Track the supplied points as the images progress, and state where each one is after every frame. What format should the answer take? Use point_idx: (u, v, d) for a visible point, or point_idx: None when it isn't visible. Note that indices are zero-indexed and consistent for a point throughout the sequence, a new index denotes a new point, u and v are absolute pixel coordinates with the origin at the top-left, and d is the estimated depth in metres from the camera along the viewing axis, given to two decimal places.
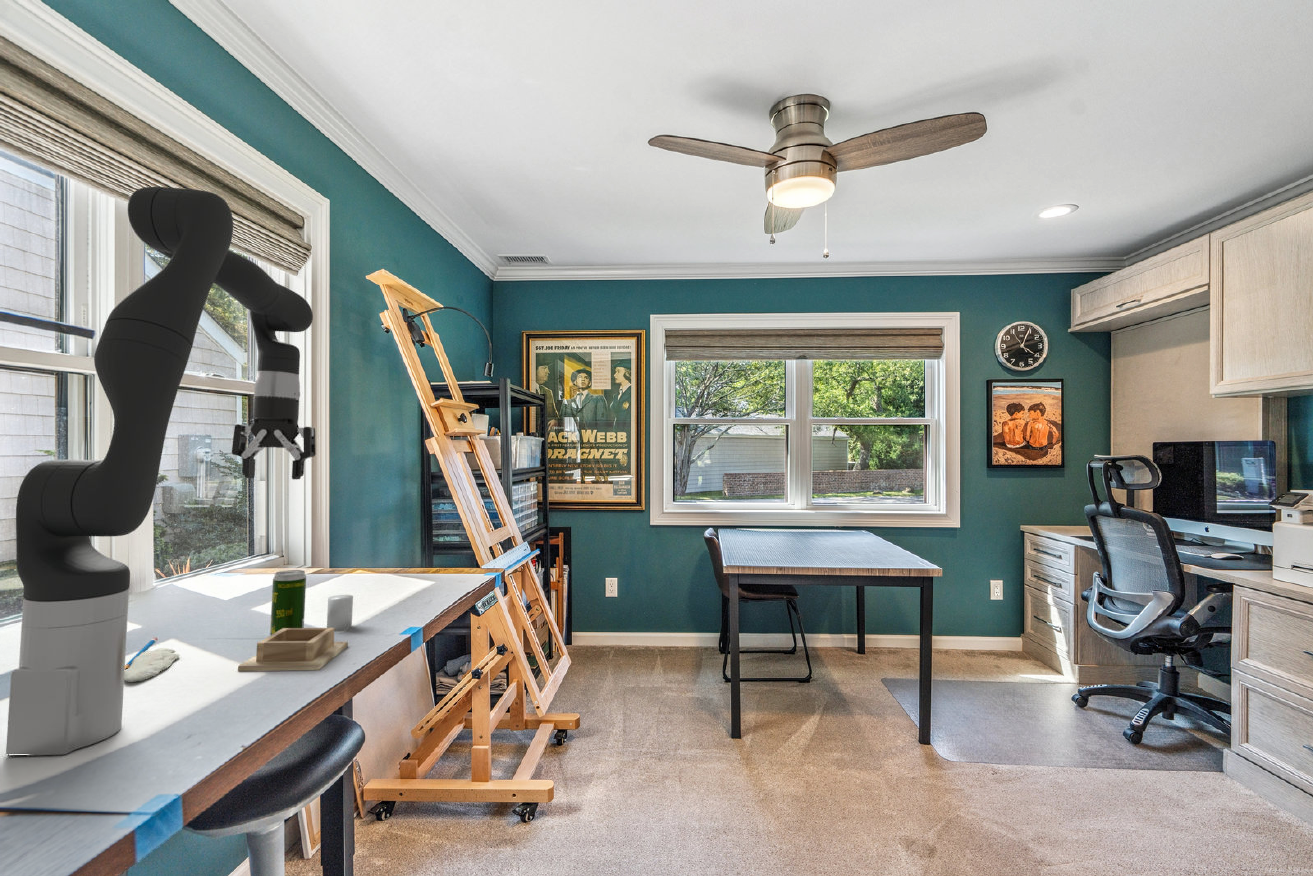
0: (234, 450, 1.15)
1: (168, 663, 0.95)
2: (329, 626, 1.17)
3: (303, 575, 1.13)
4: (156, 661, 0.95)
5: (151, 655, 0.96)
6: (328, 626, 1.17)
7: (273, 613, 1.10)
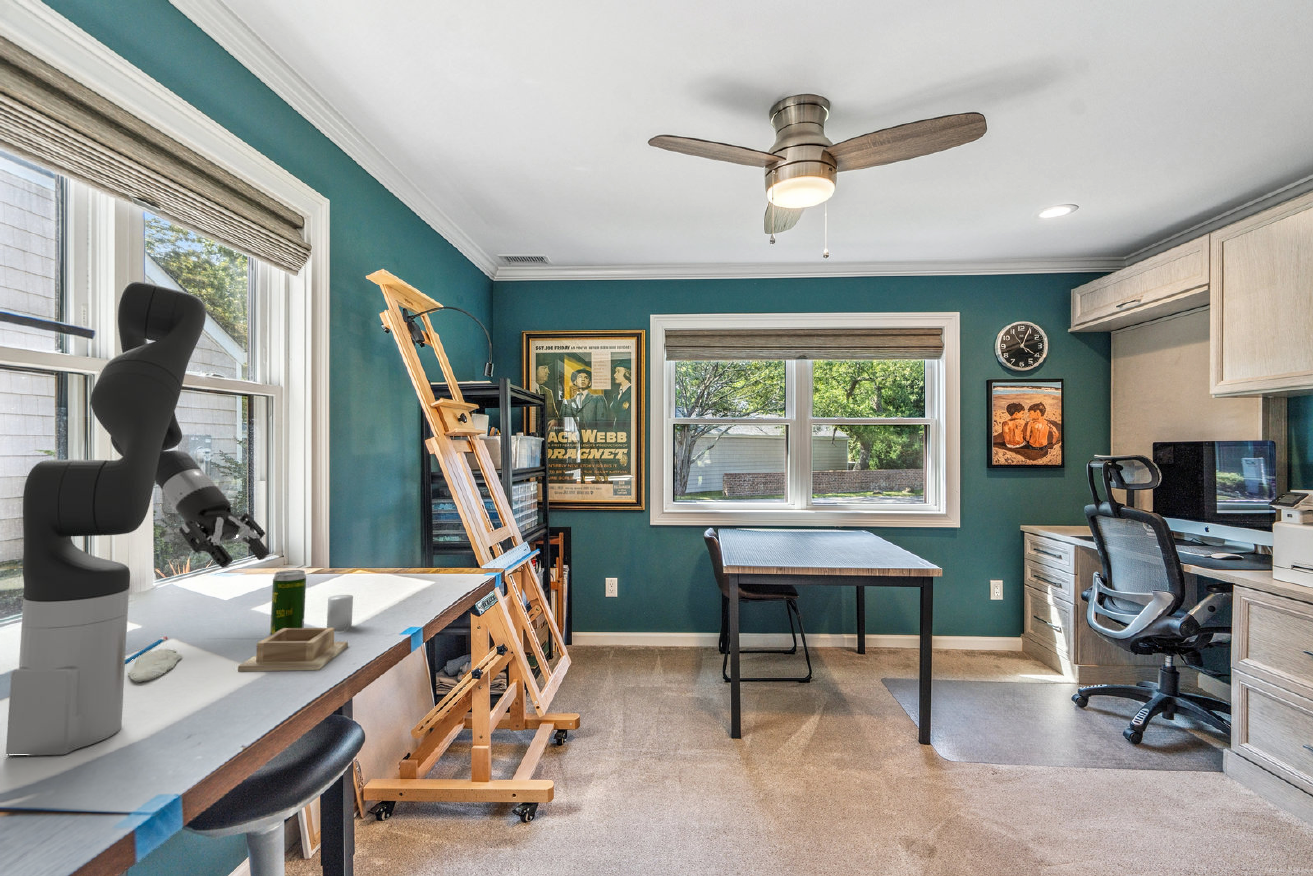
0: (204, 539, 1.08)
1: (172, 663, 0.96)
2: (329, 626, 1.17)
3: (303, 575, 1.13)
4: (160, 661, 0.95)
5: (155, 655, 0.96)
6: (328, 626, 1.17)
7: (273, 613, 1.10)
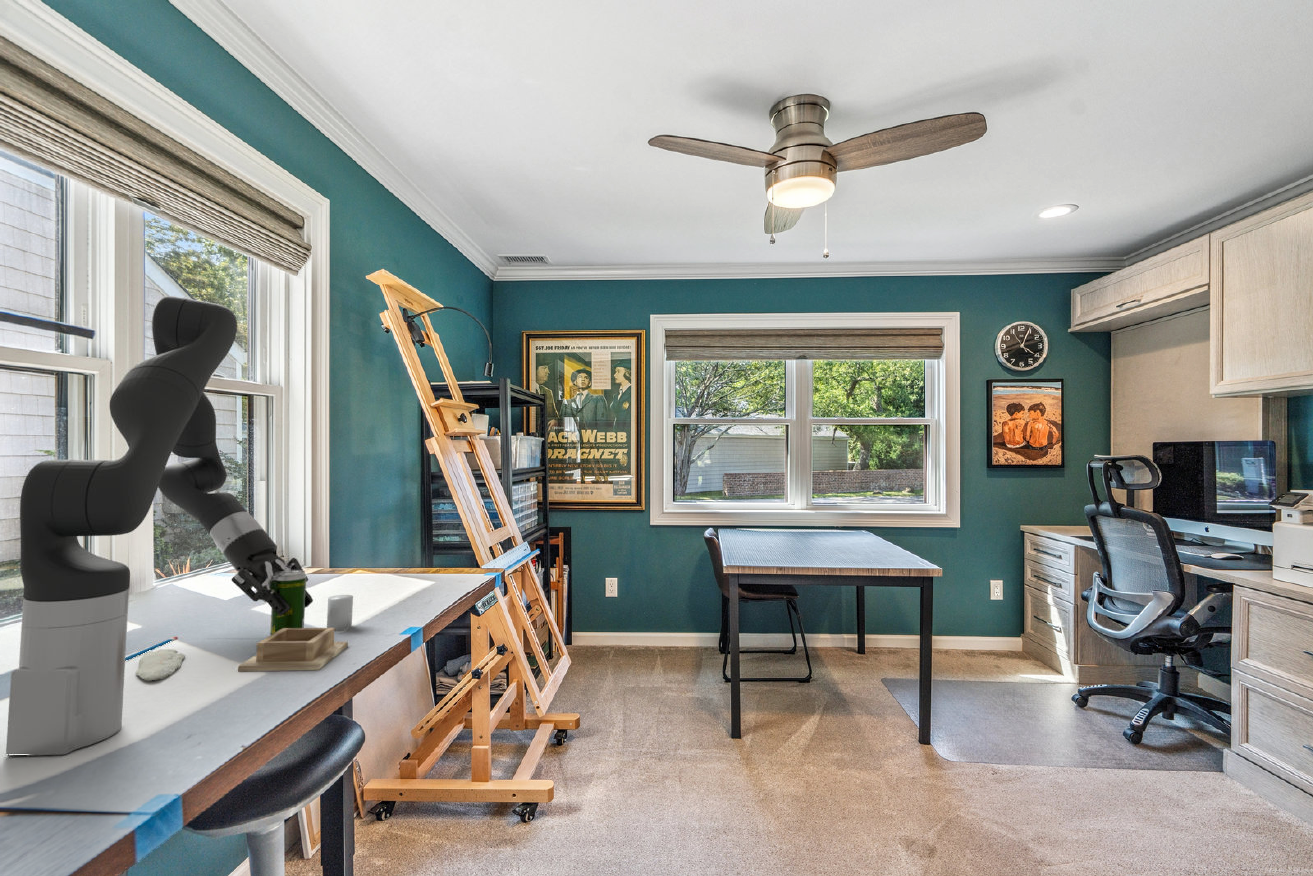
0: (262, 588, 1.07)
1: (178, 662, 0.96)
2: (329, 626, 1.17)
3: (303, 575, 1.13)
4: (166, 660, 0.95)
5: (159, 655, 0.96)
6: (328, 626, 1.17)
7: (273, 613, 1.10)
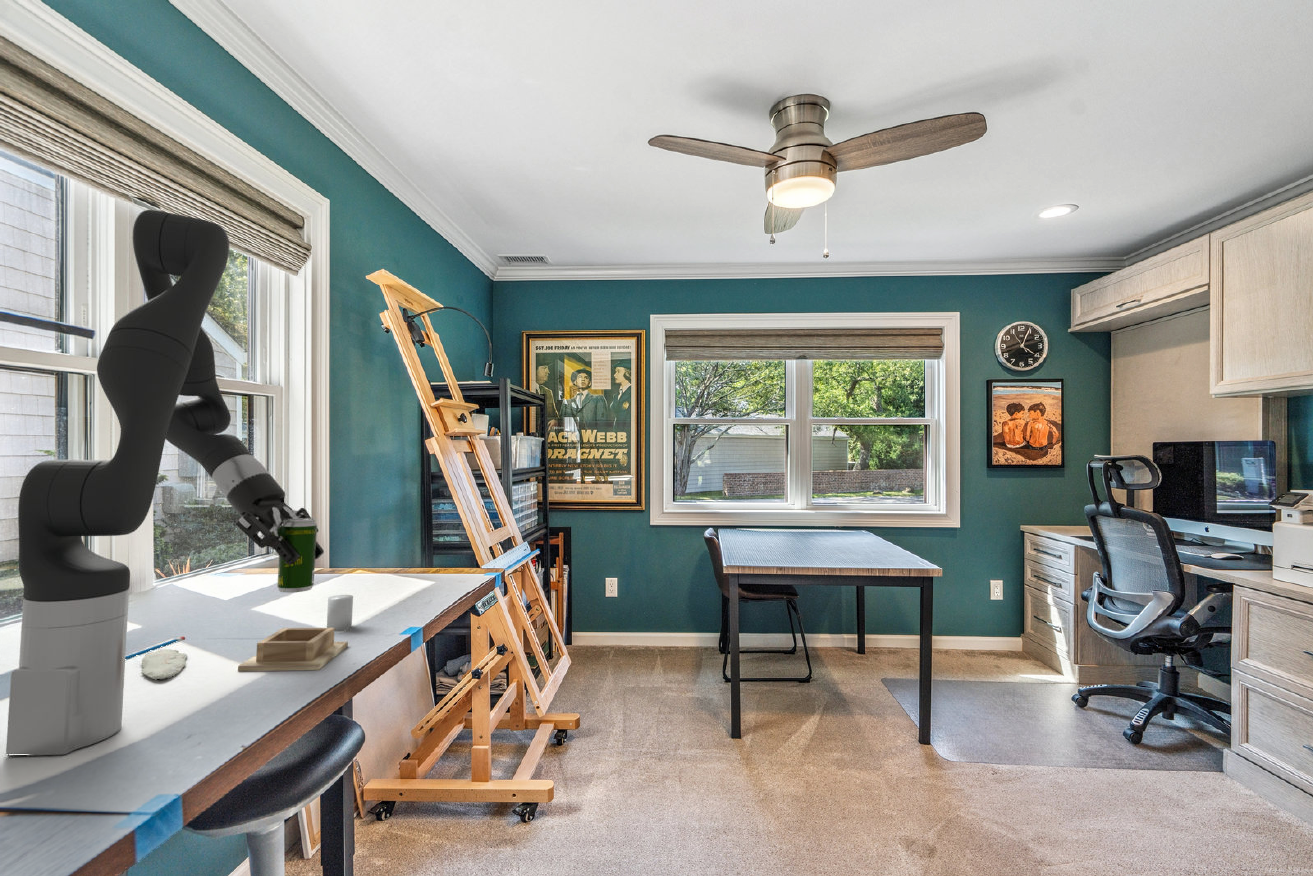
0: (270, 533, 0.98)
1: (183, 662, 0.96)
2: (329, 626, 1.17)
3: (314, 522, 1.03)
4: (171, 660, 0.95)
5: (162, 655, 0.96)
6: (328, 626, 1.17)
7: (281, 562, 1.00)
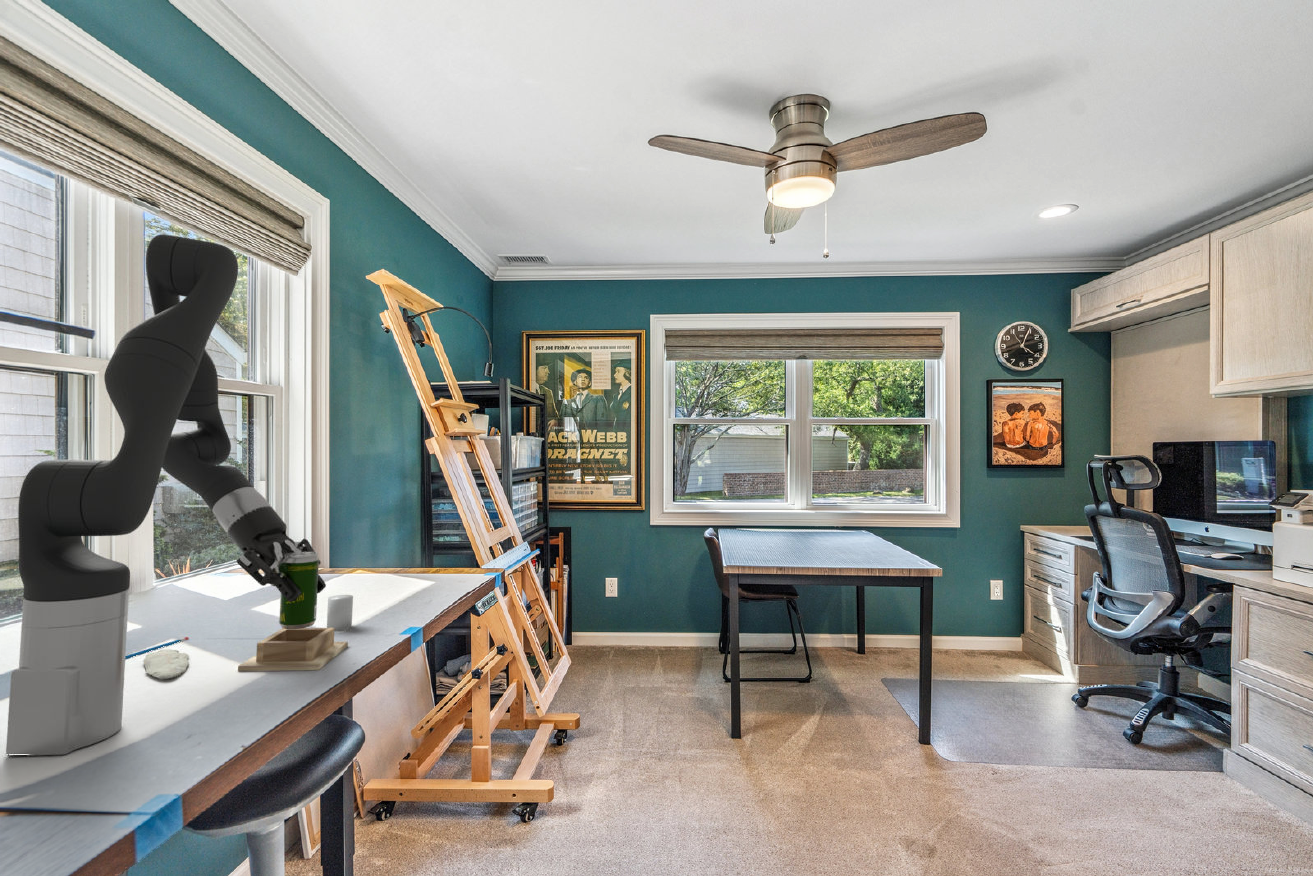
0: (271, 571, 0.96)
1: (186, 661, 0.97)
2: (329, 626, 1.17)
3: (316, 557, 1.02)
4: (173, 659, 0.96)
5: (164, 655, 0.96)
6: (328, 626, 1.17)
7: (283, 599, 0.99)
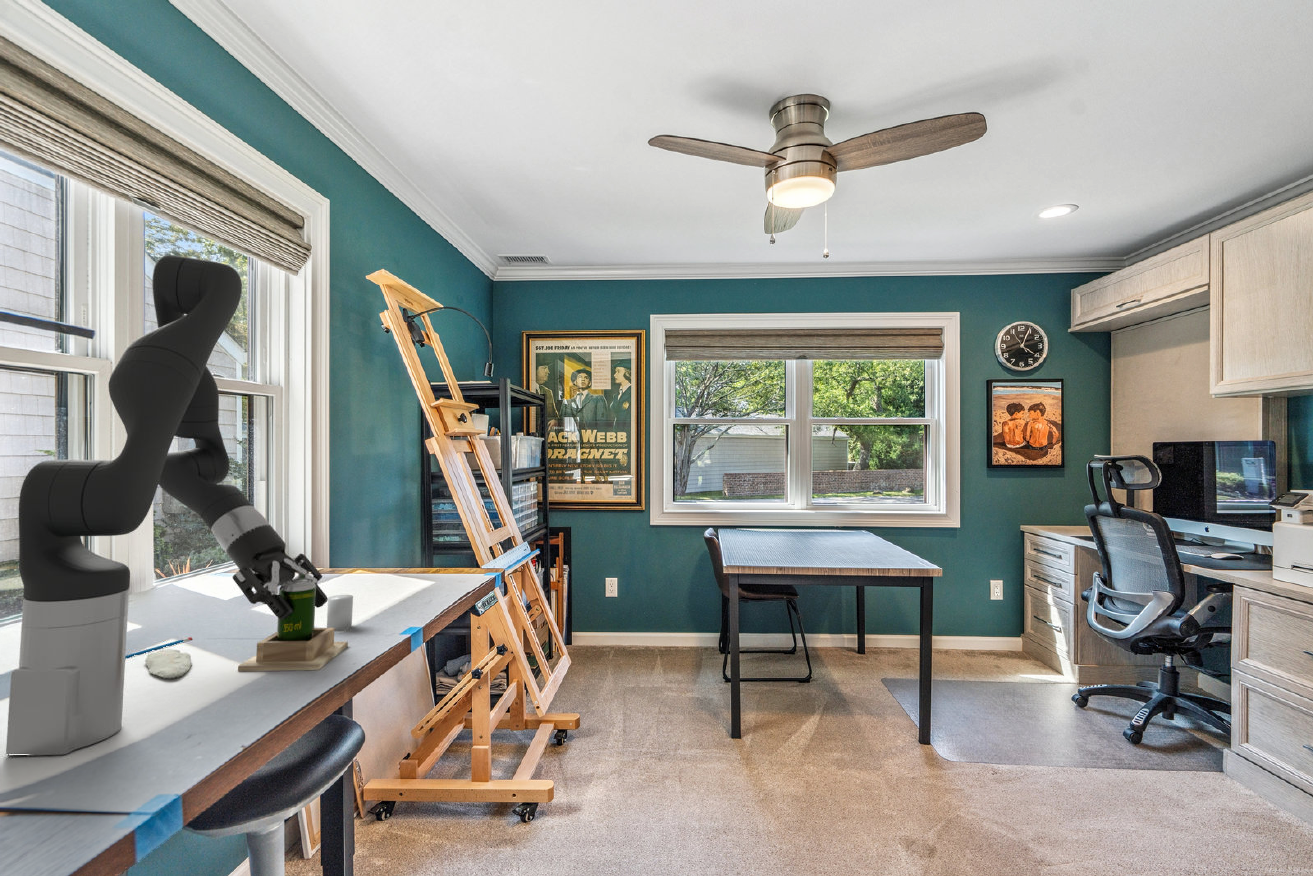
0: (261, 589, 0.95)
1: (189, 661, 0.97)
2: (329, 626, 1.17)
3: (313, 584, 1.01)
4: (176, 659, 0.96)
5: (166, 655, 0.97)
6: (328, 626, 1.17)
7: (280, 627, 0.99)
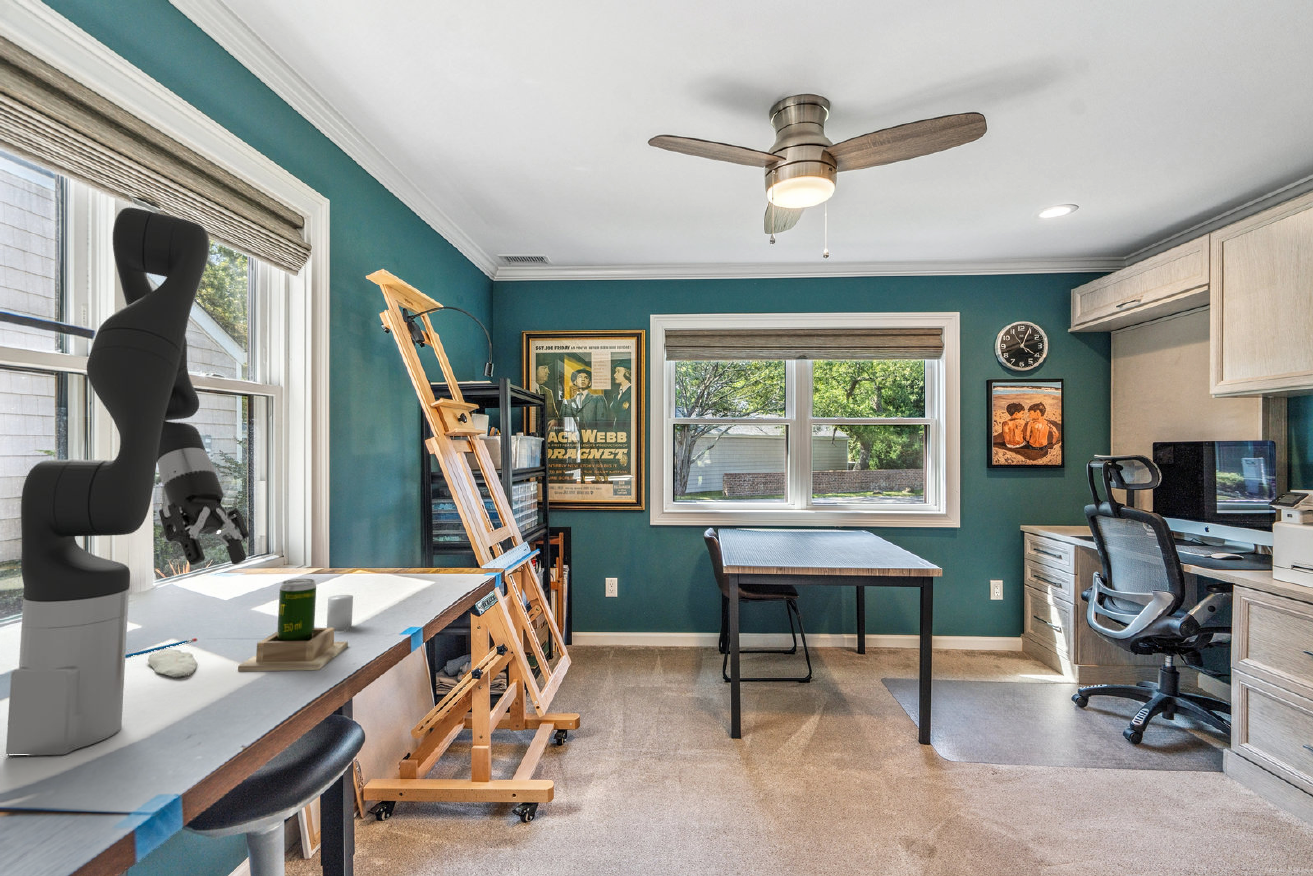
0: (181, 529, 0.96)
1: (193, 660, 0.97)
2: (329, 626, 1.17)
3: (313, 584, 1.01)
4: (181, 658, 0.96)
5: (170, 655, 0.97)
6: (328, 626, 1.17)
7: (280, 627, 0.99)
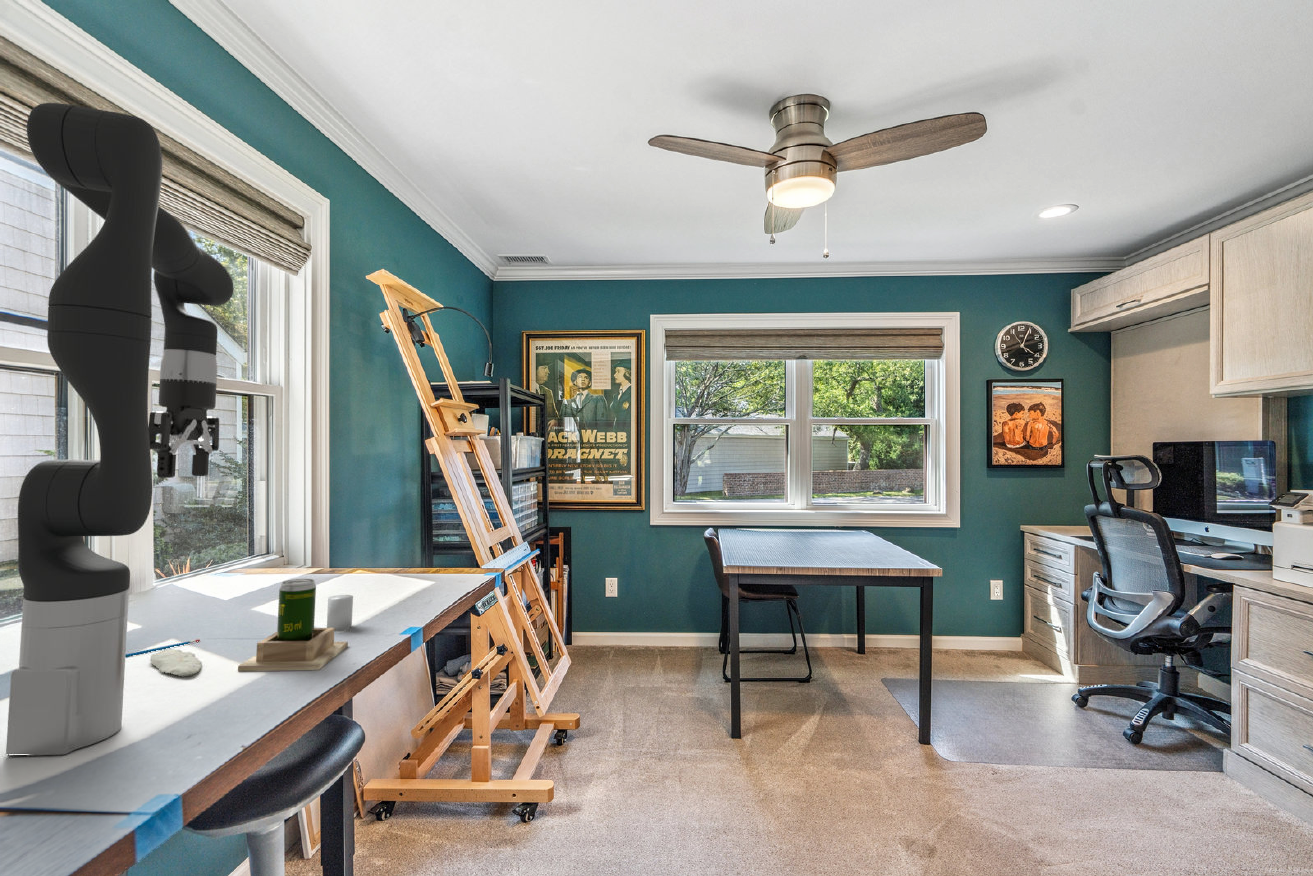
0: (166, 444, 0.93)
1: (197, 659, 0.97)
2: (329, 626, 1.17)
3: (313, 584, 1.01)
4: (184, 658, 0.96)
5: (173, 654, 0.97)
6: (328, 626, 1.17)
7: (280, 627, 0.99)
